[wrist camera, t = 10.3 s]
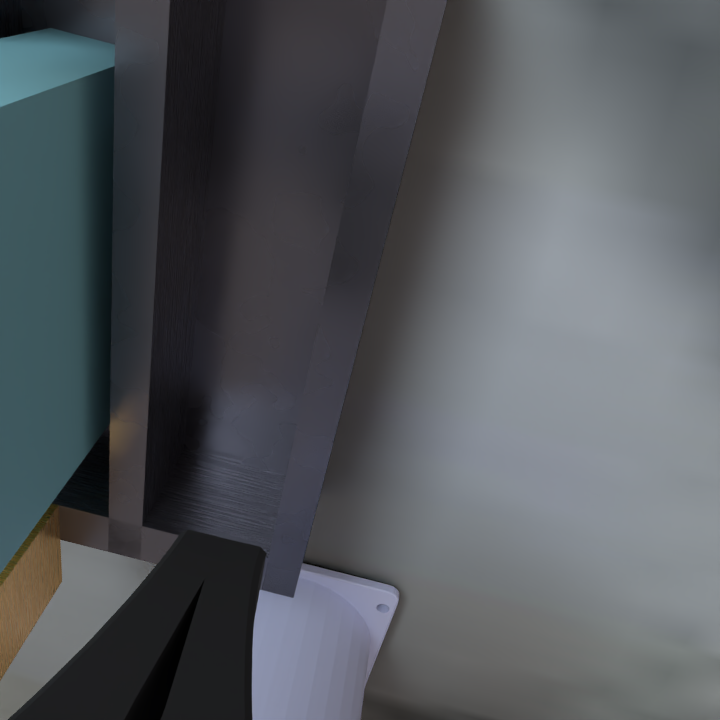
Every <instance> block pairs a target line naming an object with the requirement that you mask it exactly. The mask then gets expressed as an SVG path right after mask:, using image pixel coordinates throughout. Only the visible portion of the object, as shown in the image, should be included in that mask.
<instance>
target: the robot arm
mask: <svg viewBox="0 0 720 720" xmlns="http://www.w3.org/2000/svg"><path fill="white" fill-rule="evenodd" d="M265 558H266V552H265V551H264V550H263V549H262V548H261V547H259V546H255V545H251V544H247V543H242V542H238V541H234V540H230V539H226V538H221V537H217V536H213V535H209V534H205V533H201V532H196V531H192V530H186V531H184V532H181V533H180V535H179V536H178V537H177V539H176V540H175V542H174V543H173V544H172V546H171V547H170V548H169V550H168V551H167V552H166V554H165V555H164V556H163V558H162V559H161V560H160V561H159V563H158V564H157V565H156V566H155V568H154V569H153V570H152V571H151V573H150V574H149V575H148V576H147V577H146V579H145V580H144V581H143V582H142V583H141V584H140V586H139V587H138V588H137V589H136V590H135V591H134V593H133V594H132V595H131V596H130V597H129V598H128V600H127V601H126V602H125V603H124V604H123V605H122V606H121V607H120V608H119V609H118V611H117V612H116V613H115V614H114V615H113V616H112V617H111V618H110V619H109V620H108V621H107V622H106V624H105V625H104V626H103V627H102V628H101V629H100V630H99V631H98V632H97V633H96V634H95V636H94V637H93V638H92V639H91V640H90V641H89V642H88V643H87V644H86V645H85V646H84V647H83V648H82V649H81V650H80V651H79V652H78V653H77V654H76V655H75V656H74V657H73V658H72V659H71V660H70V661H69V662H68V663H67V664H66V665H65V666H64V667H63V668H62V669H61V670H60V671H59V672H58V673H57V674H56V675H55V676H54V677H53V678H52V679H51V680H50V681H49V682H48V683H47V684H46V685H45V686H44V687H42V688H41V689H40V690H39V691H38V692H37V693H36V694H35V695H34V696H33V697H32V698H31V699H30V700H29V701H28V702H27V703H25V704H24V705H23V706H22V707H21V708H20V709H19V710H18V711H17V712H16V713H15V714H13V715H12V716H11V717H10V718H9V719H8V720H361V713H362V705H363V697H364V689H365V685H366V683H367V680H368V678H369V675H370V673H371V670H372V668H373V665H374V663H375V660H376V658H377V655H378V653H379V650H380V648H381V645H382V643H383V640H384V638H385V635H386V633H387V630H388V627H389V625H390V622H391V620H392V617H393V615H394V612H395V610H396V607H397V605H398V601H399V592H398V590H397V589H396V588H395V587H393V586H391V585H388V584H384V583H380V582H376V581H372V580H368V579H364V578H360V577H356V576H352V575H348V574H344V573H340V572H336V571H332V570H328V569H324V568H320V567H316V566H312V565H308V564H304V563H302V567H301V571H300V575H299V578H298V582H297V586H296V590H295V594H294V598H291V597H287V596H283V595H279V594H275V593H271V592H267V591H263V590H260V586H261V580H262V575H263V569H264V564H265Z"/></svg>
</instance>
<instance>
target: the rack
mask: <svg viewBox="0 0 720 720" xmlns="http://www.w3.org/2000/svg"><path fill="white" fill-rule="evenodd" d="M446 3H447V0H0V38H5V37H10V36H14V35H19V34H24V33H29V32H33V31H38V30H43V29H48V28H53V29H57V30H61V31H65V32H68V33H72V34H76V35H80V36H84V37H88V38H92V39H95V40H99V41H103V42H107V43H111V44H115V71H114V148H113V224H112V301H111V377H110V424H109V425H108V426H107V428H106V429H105V431H104V432H103V433H102V435H101V436H100V437H99V439H98V440H97V442H96V443H95V444H94V446H93V447H92V448H91V450H90V451H89V453H88V454H87V455H86V457H85V458H84V459H83V461H82V462H81V464H80V465H79V466H78V468H77V469H76V470H75V472H74V473H73V475H72V476H71V477H70V479H69V480H68V481H67V483H66V484H65V486H64V487H63V488H62V490H61V491H60V493H59V494H58V495H57V497H56V498H55V499H54V501H53V502H52V504H51V505H50V506H49V508H48V509H47V510H46V512H45V513H44V515H43V516H42V517H41V519H40V520H39V521H38V523H37V524H36V526H35V527H34V528H33V530H32V531H31V532H30V534H29V535H28V537H27V538H26V539H25V541H24V542H23V543H22V545H21V546H20V548H19V549H18V550H17V552H16V553H15V554H14V556H13V557H12V559H11V560H10V561H9V563H8V564H7V565H6V567H5V568H4V570H3V571H2V572H1V574H0V680H1V679H2V677H3V675H4V674H5V672H6V671H7V669H8V667H9V666H10V664H11V663H12V661H13V659H14V658H15V656H16V654H17V653H18V651H19V650H20V648H21V646H22V645H23V643H24V642H25V640H26V638H27V637H28V635H29V634H30V632H31V630H32V629H33V627H34V626H35V624H36V622H37V621H38V619H39V617H40V616H41V614H42V613H43V611H44V609H45V608H46V606H47V605H48V603H49V601H50V600H51V598H52V597H53V595H54V593H55V592H56V590H57V589H58V587H59V585H60V584H61V582H62V569H61V547H60V540H64V541H68V542H72V543H76V544H80V545H84V546H88V547H92V548H96V549H100V550H104V551H108V552H112V553H116V554H120V555H124V556H128V557H132V558H136V559H140V560H144V561H148V562H152V563H156V564H158V563H159V561H160V560H161V559H162V558H163V556H164V555H165V554H166V552H167V551H168V550H169V548H170V547H171V546H172V544H173V543H174V542H175V540H176V539H177V537H178V536H179V535H180V533H181V532H184V531H186V530H192V531H196V532H201V533H205V534H209V535H213V536H217V537H221V538H226V539H230V540H234V541H238V542H242V543H247V544H251V545H255V546H259V547H261V548H262V549H263V550H264V551H265V552H266V558H265V564H264V569H263V575H262V580H261V586H260V590H263V591H267V592H271V593H275V594H279V595H283V596H287V597H291V598H294V594H295V590H296V586H297V582H298V578H299V575H300V571H301V567H302V563H303V559H304V555H305V551H306V547H307V543H308V540H309V536H310V532H311V528H312V524H313V520H314V516H315V512H316V508H317V505H318V501H319V497H320V493H321V489H322V485H323V481H324V477H325V474H326V470H327V466H328V462H329V458H330V454H331V450H332V446H333V442H334V439H335V435H336V431H337V427H338V423H339V419H340V415H341V411H342V407H343V404H344V400H345V396H346V392H347V388H348V384H349V380H350V376H351V373H352V369H353V365H354V361H355V357H356V353H357V349H358V345H359V341H360V338H361V334H362V330H363V326H364V322H365V318H366V314H367V310H368V306H369V303H370V299H371V295H372V291H373V287H374V283H375V279H376V275H377V272H378V268H379V264H380V260H381V256H382V252H383V248H384V244H385V240H386V237H387V233H388V229H389V225H390V221H391V217H392V213H393V209H394V205H395V202H396V198H397V194H398V190H399V186H400V182H401V178H402V174H403V170H404V167H405V163H406V159H407V155H408V151H409V147H410V143H411V139H412V136H413V132H414V128H415V124H416V120H417V116H418V112H419V108H420V104H421V101H422V97H423V93H424V89H425V85H426V81H427V77H428V73H429V69H430V66H431V62H432V58H433V54H434V50H435V46H436V42H437V38H438V35H439V31H440V27H441V23H442V19H443V15H444V11H445V7H446Z"/></svg>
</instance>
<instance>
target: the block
mask: <svg viewBox="0 0 720 720" xmlns="http://www.w3.org/2000/svg"><path fill="white" fill-rule="evenodd" d="M114 71H115V44H111V43H107V42H103V41H99V40H95V39H92V38H88V37H84V36H80V35H76V34H72V33H68V32H65V31H61V30H57V29H53V28H48V29H43V30H38V31H33V32H29V33H24V34H19V35H14V36H10V37H5V38H0V574H1V572H2V571H3V570H4V568H5V567H6V565H7V564H8V563H9V561H10V560H11V559H12V557H13V556H14V554H15V553H16V552H17V550H18V549H19V548H20V546H21V545H22V543H23V542H24V541H25V539H26V538H27V537H28V535H29V534H30V532H31V531H32V530H33V528H34V527H35V526H36V524H37V523H38V521H39V520H40V519H41V517H42V516H43V515H44V513H45V512H46V510H47V509H48V508H49V506H50V505H51V504H52V502H53V501H54V499H55V498H56V497H57V495H58V494H59V493H60V491H61V490H62V488H63V487H64V486H65V484H66V483H67V481H68V480H69V479H70V477H71V476H72V475H73V473H74V472H75V470H76V469H77V468H78V466H79V465H80V464H81V462H82V461H83V459H84V458H85V457H86V455H87V454H88V453H89V451H90V450H91V448H92V447H93V446H94V444H95V443H96V442H97V440H98V439H99V437H100V436H101V435H102V433H103V432H104V431H105V429H106V428H107V426H108V425H109V424H110V377H111V301H112V224H113V148H114Z"/></svg>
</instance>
